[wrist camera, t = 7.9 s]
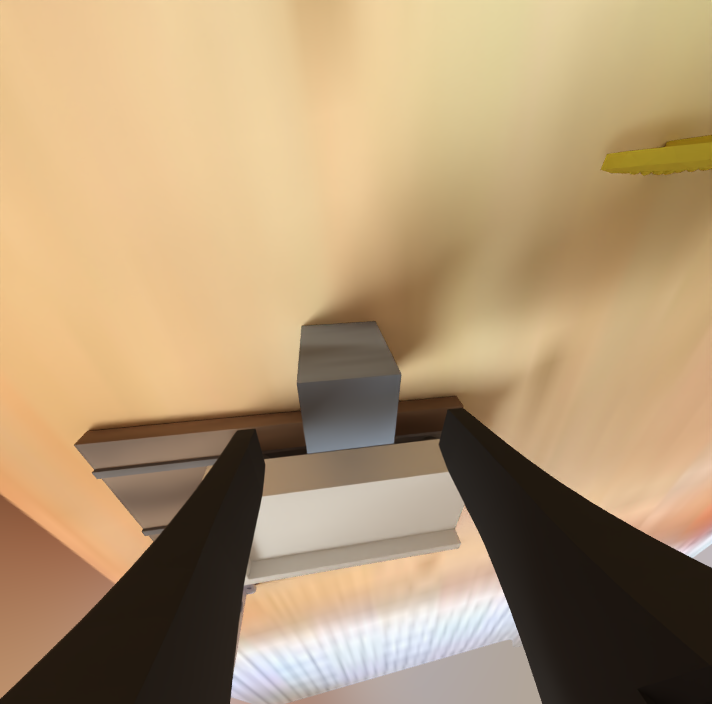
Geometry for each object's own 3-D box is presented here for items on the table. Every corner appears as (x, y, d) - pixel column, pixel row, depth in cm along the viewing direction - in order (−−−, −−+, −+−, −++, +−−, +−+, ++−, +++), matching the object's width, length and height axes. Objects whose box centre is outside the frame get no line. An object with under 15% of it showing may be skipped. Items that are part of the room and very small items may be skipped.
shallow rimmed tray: (440, 503, 23) (458, 548, 20) (248, 531, 21) (238, 586, 18) (465, 420, 18) (496, 465, 15) (214, 447, 16) (192, 505, 13)
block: (372, 379, 16) (393, 443, 12) (308, 384, 16) (307, 453, 12) (375, 321, 14) (401, 374, 10) (301, 325, 14) (296, 383, 10)
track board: (429, 494, 24) (434, 507, 23) (163, 532, 21) (156, 549, 20) (456, 396, 18) (464, 408, 17) (87, 431, 15) (71, 448, 14)
